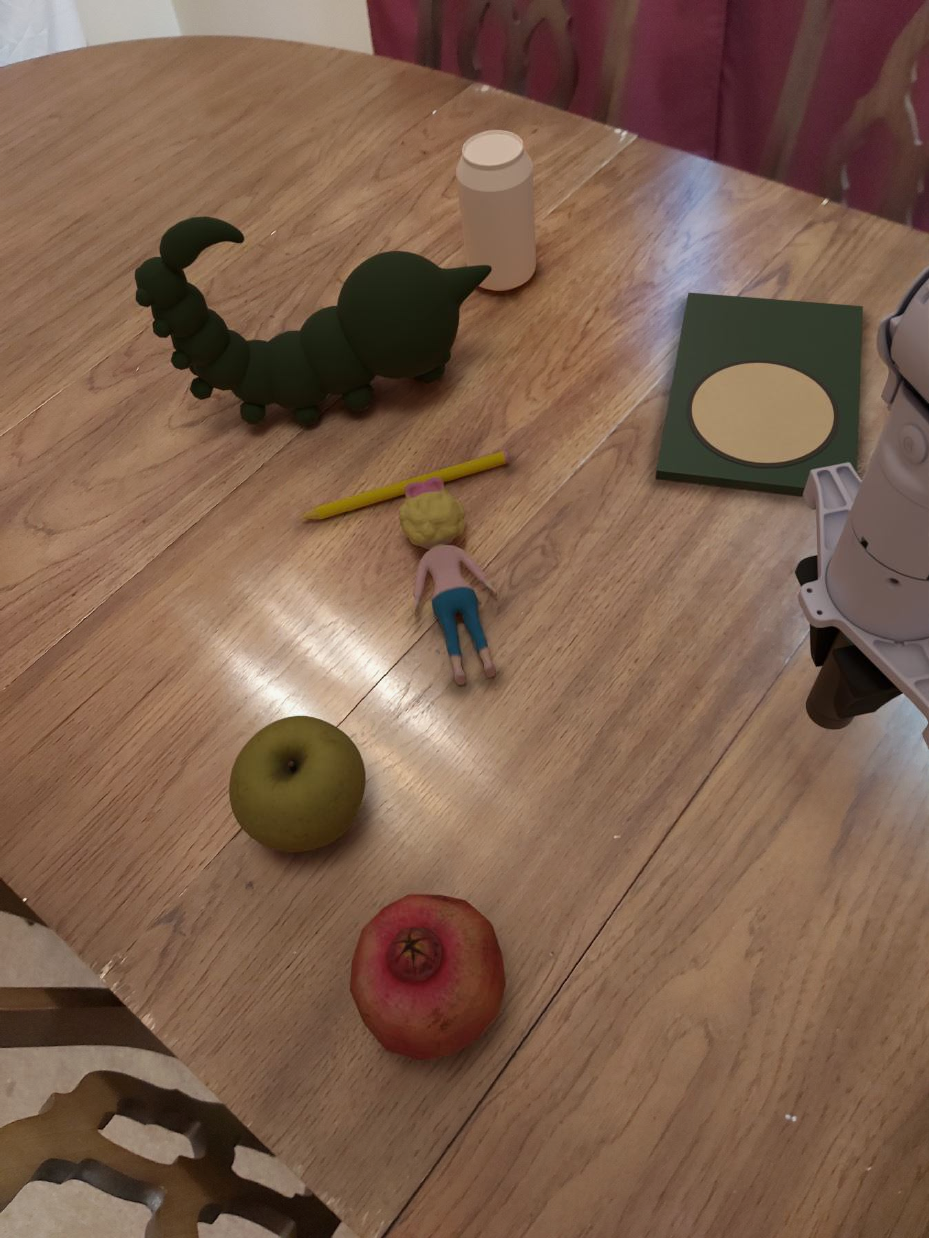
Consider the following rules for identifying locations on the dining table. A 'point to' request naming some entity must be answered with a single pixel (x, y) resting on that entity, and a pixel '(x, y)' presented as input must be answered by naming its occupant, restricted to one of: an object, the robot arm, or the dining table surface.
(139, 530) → the dining table surface
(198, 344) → the toy caterpillar
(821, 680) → the pill bottle
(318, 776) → the apple
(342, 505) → the pencil
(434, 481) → the figurine
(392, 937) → the fruit
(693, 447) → the kitchen scale
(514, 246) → the beverage can
